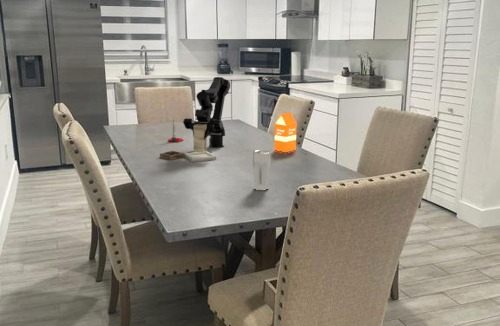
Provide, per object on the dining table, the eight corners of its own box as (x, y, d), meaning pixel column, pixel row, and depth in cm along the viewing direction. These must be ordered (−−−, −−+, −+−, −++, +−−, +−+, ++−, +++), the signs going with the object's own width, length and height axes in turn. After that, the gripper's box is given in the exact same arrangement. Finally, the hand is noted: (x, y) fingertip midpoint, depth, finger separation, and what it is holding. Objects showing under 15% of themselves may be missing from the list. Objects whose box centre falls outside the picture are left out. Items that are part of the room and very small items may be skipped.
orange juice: (295, 150, 259) (297, 113, 254) (285, 153, 252) (286, 115, 247) (284, 148, 264) (285, 111, 259) (274, 150, 257) (274, 113, 253)
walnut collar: (172, 154, 247) (172, 150, 247) (184, 156, 242) (184, 153, 242) (159, 157, 241) (159, 153, 240) (171, 160, 236) (171, 156, 235)
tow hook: (171, 139, 287) (166, 141, 278) (171, 117, 284) (166, 119, 275) (185, 140, 286) (180, 142, 277) (185, 118, 283) (180, 120, 274)
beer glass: (251, 186, 194) (251, 149, 191) (268, 186, 195) (269, 149, 191) (253, 191, 187) (253, 153, 184) (270, 191, 188) (271, 153, 184)
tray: (207, 154, 248) (207, 151, 247) (216, 159, 237) (216, 156, 237) (184, 156, 242) (184, 153, 242) (193, 162, 232) (193, 158, 232)
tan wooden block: (196, 149, 242) (196, 123, 239) (206, 150, 241) (206, 124, 238) (193, 151, 237) (193, 125, 234) (203, 152, 236) (203, 126, 233)
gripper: (183, 102, 239) (176, 128, 231) (220, 103, 235) (214, 129, 227) (189, 115, 248) (182, 141, 241) (224, 117, 245) (218, 142, 237)
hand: (199, 138), depth 236 cm, fingers closed on tan wooden block, 5 cm apart
